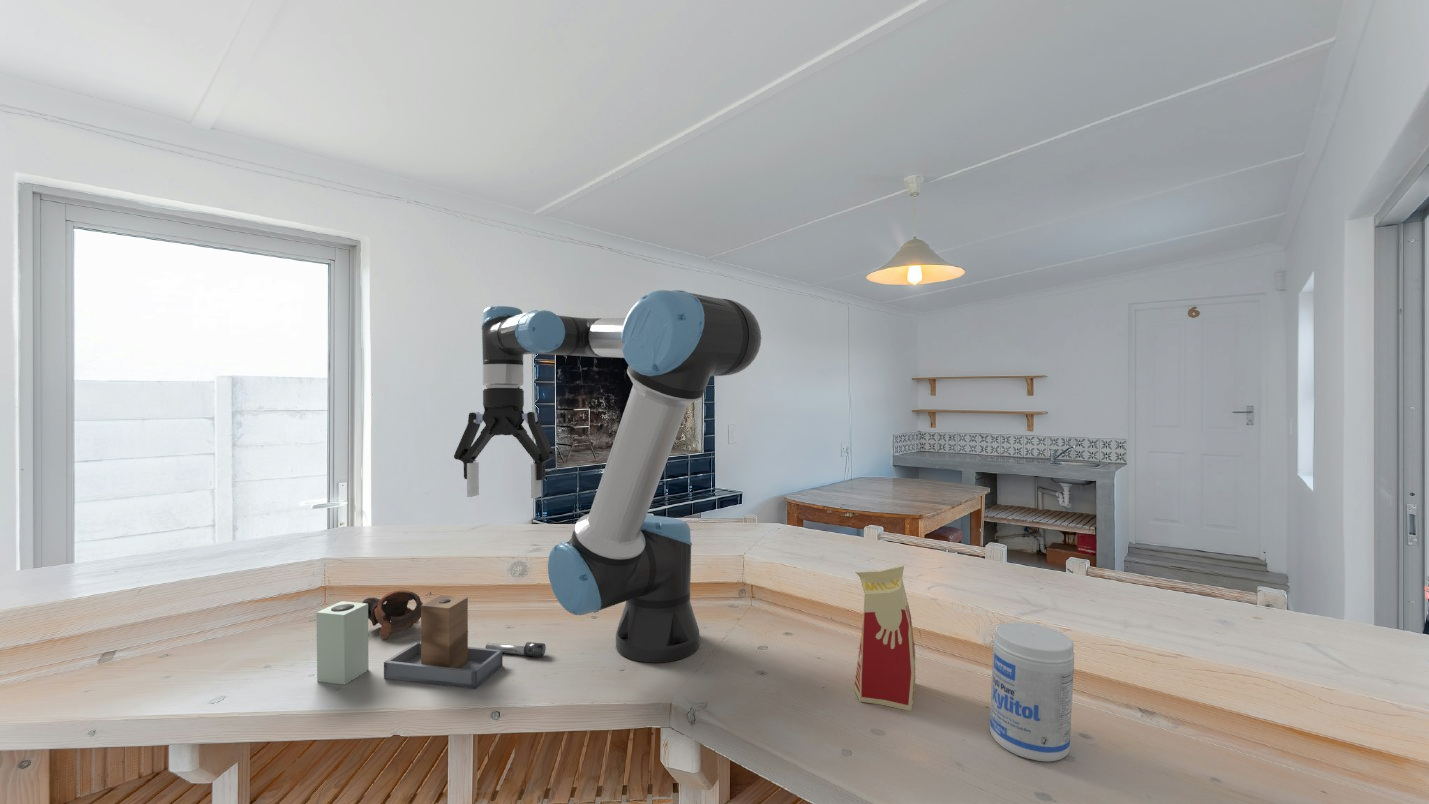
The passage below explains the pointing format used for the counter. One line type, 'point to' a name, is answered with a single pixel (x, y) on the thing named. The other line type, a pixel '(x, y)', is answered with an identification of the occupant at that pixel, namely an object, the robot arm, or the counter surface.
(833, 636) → the counter surface
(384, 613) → the pottery mug
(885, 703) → the milk carton
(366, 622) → the sage block
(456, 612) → the walnut block
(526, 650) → the rod
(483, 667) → the slate tray
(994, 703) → the supplement tub
